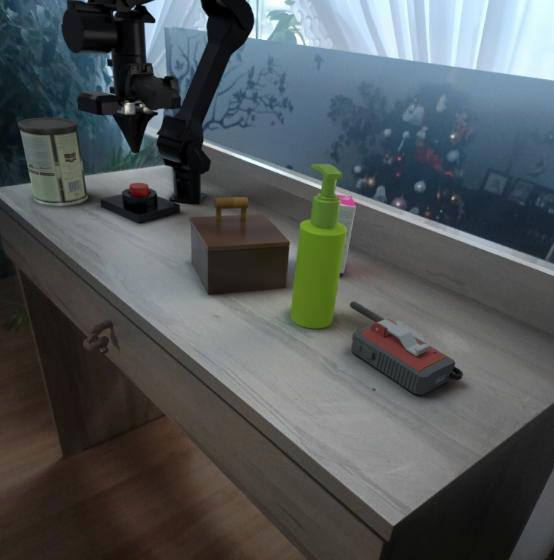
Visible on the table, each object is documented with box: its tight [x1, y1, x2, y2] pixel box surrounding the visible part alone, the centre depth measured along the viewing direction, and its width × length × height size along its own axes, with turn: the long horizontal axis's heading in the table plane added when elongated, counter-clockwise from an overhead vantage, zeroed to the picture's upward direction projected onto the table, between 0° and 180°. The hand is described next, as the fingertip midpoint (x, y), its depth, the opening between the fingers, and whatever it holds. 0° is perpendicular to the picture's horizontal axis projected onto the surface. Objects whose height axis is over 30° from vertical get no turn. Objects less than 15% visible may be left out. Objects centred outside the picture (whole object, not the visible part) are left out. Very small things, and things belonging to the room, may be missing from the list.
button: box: [128, 182, 150, 196], centre depth 99 cm, size 4×4×2 cm
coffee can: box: [17, 117, 89, 207], centre depth 99 cm, size 10×10×14 cm
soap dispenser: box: [290, 163, 347, 330], centre depth 66 cm, size 6×7×20 cm
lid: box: [189, 196, 291, 252], centre depth 76 cm, size 12×12×4 cm
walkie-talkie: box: [349, 300, 464, 396], centre depth 65 cm, size 9×4×20 cm
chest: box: [190, 224, 290, 296], centre depth 79 cm, size 11×12×7 cm
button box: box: [99, 188, 181, 225], centre depth 100 cm, size 10×12×4 cm
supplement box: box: [317, 192, 357, 277], centre depth 82 cm, size 6×6×12 cm
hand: (135, 152), depth 95 cm, fingers closed
